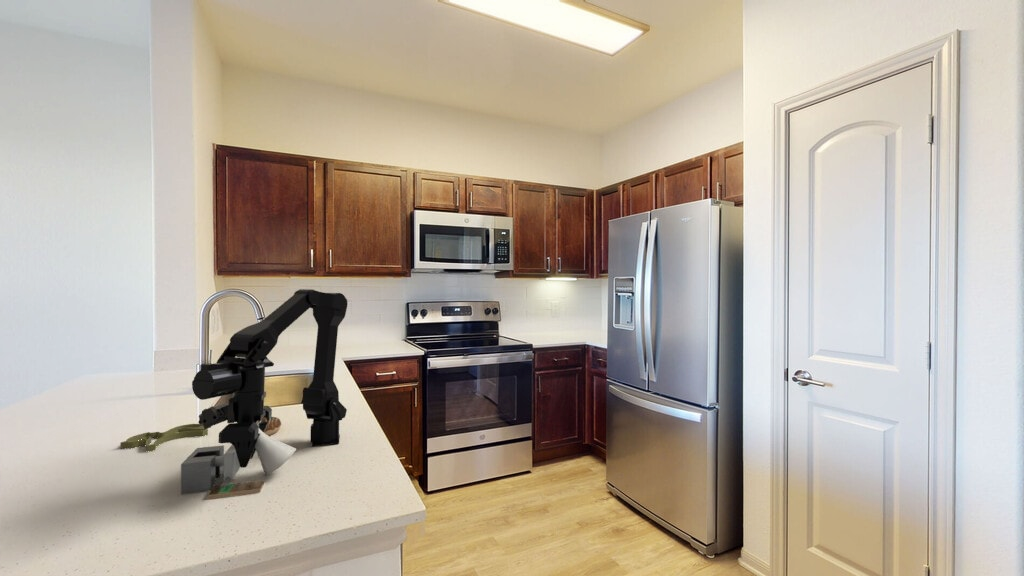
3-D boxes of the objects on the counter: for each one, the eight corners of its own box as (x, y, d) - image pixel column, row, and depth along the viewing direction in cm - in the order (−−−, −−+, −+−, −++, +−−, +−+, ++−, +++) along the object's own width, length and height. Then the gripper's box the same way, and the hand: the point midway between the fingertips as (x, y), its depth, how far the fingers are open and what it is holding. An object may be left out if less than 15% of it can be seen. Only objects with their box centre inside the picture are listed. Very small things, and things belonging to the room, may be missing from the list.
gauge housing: (272, 466, 98) (272, 440, 98) (260, 492, 86) (260, 462, 86) (196, 475, 93) (197, 448, 93) (172, 504, 81) (172, 472, 81)
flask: (280, 470, 90) (246, 435, 88) (260, 480, 93) (228, 447, 91) (302, 445, 97) (271, 413, 95) (283, 456, 100) (253, 424, 98)
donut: (289, 429, 125) (289, 415, 125) (262, 441, 115) (262, 426, 115) (257, 426, 127) (257, 413, 127) (227, 439, 117) (227, 424, 117)
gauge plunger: (242, 463, 96) (242, 440, 96) (227, 487, 85) (227, 461, 85) (218, 466, 94) (218, 442, 94) (199, 491, 83) (199, 464, 83)
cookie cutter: (138, 456, 105) (138, 448, 105) (114, 448, 110) (114, 440, 110) (216, 434, 121) (216, 427, 121) (192, 428, 126) (192, 421, 126)
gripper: (218, 383, 99) (215, 452, 98) (188, 402, 81) (185, 485, 81) (273, 381, 103) (270, 447, 102) (255, 398, 85) (252, 478, 85)
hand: (246, 463), depth 92 cm, fingers open, 4 cm apart
